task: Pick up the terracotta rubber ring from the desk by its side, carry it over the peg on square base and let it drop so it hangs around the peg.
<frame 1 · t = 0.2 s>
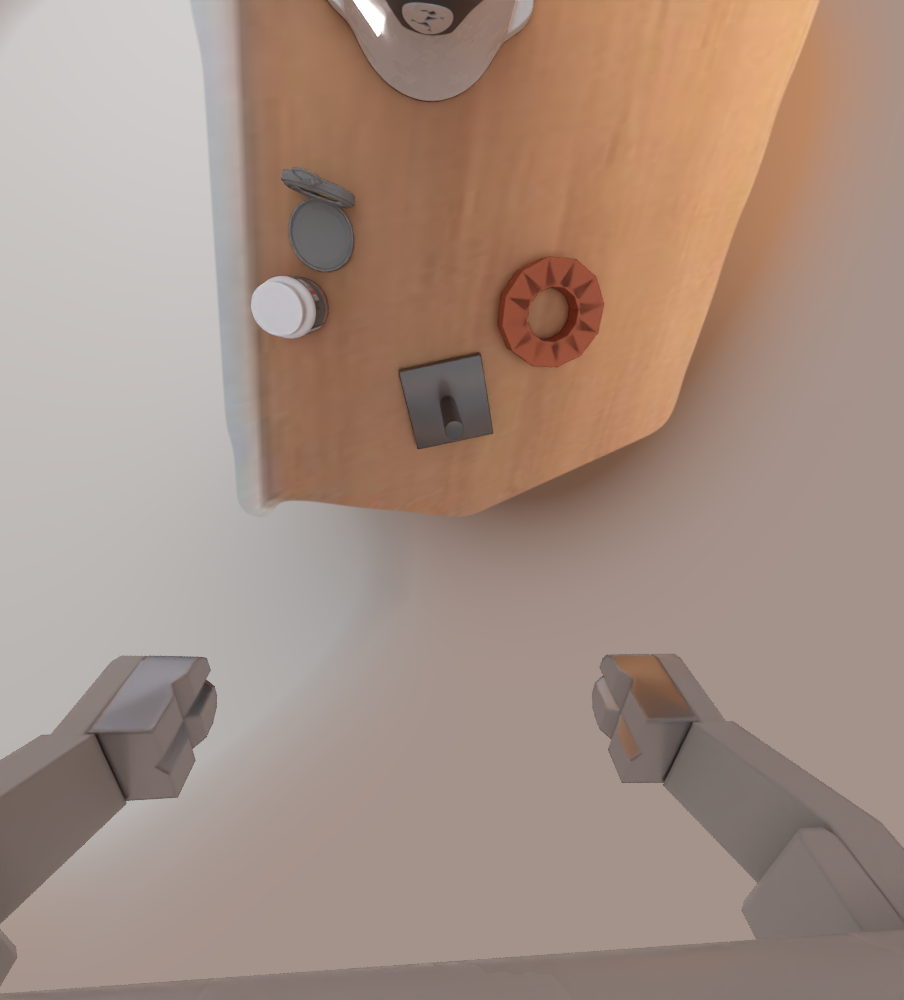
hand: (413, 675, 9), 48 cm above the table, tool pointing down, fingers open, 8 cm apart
pill bottle: (304, 305, 48), on the table
pocket watch: (326, 225, 45), on the table
ring: (545, 313, 50), on the table
peg on square base: (447, 401, 54), on the table
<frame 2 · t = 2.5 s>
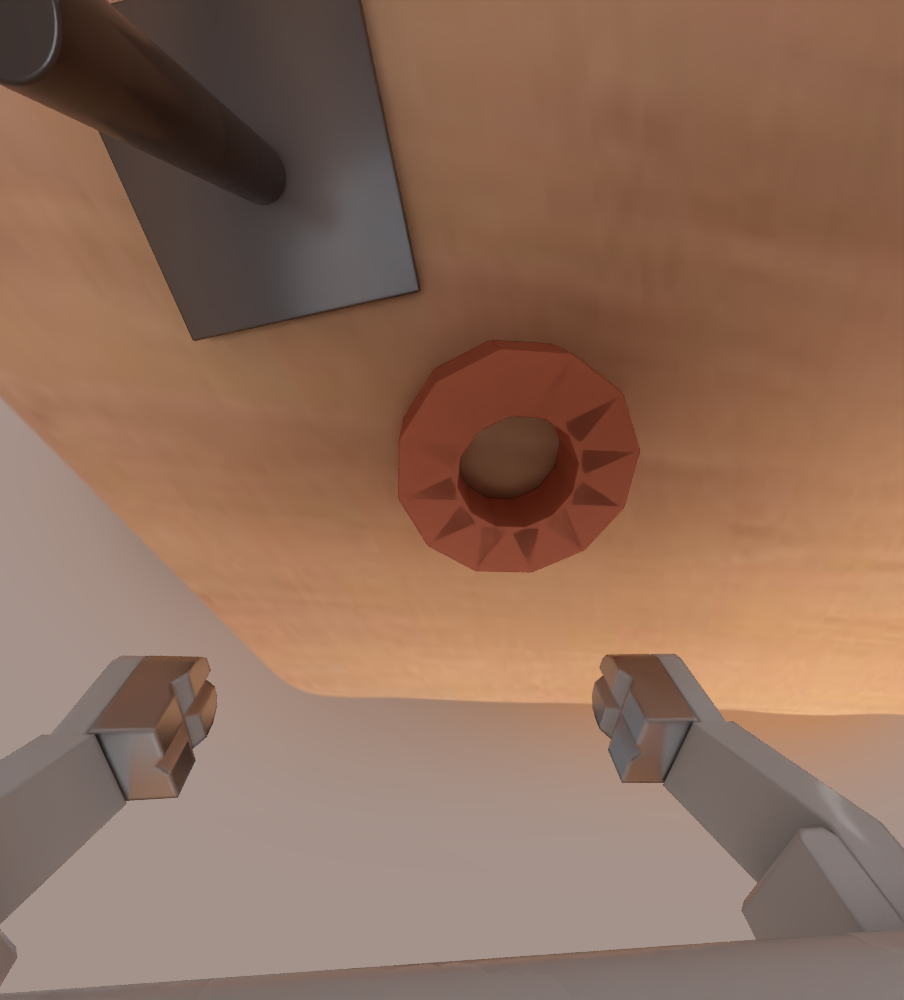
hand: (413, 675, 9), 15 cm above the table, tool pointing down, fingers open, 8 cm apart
ring: (506, 451, 23), on the table
peg on square base: (271, 181, 17), on the table
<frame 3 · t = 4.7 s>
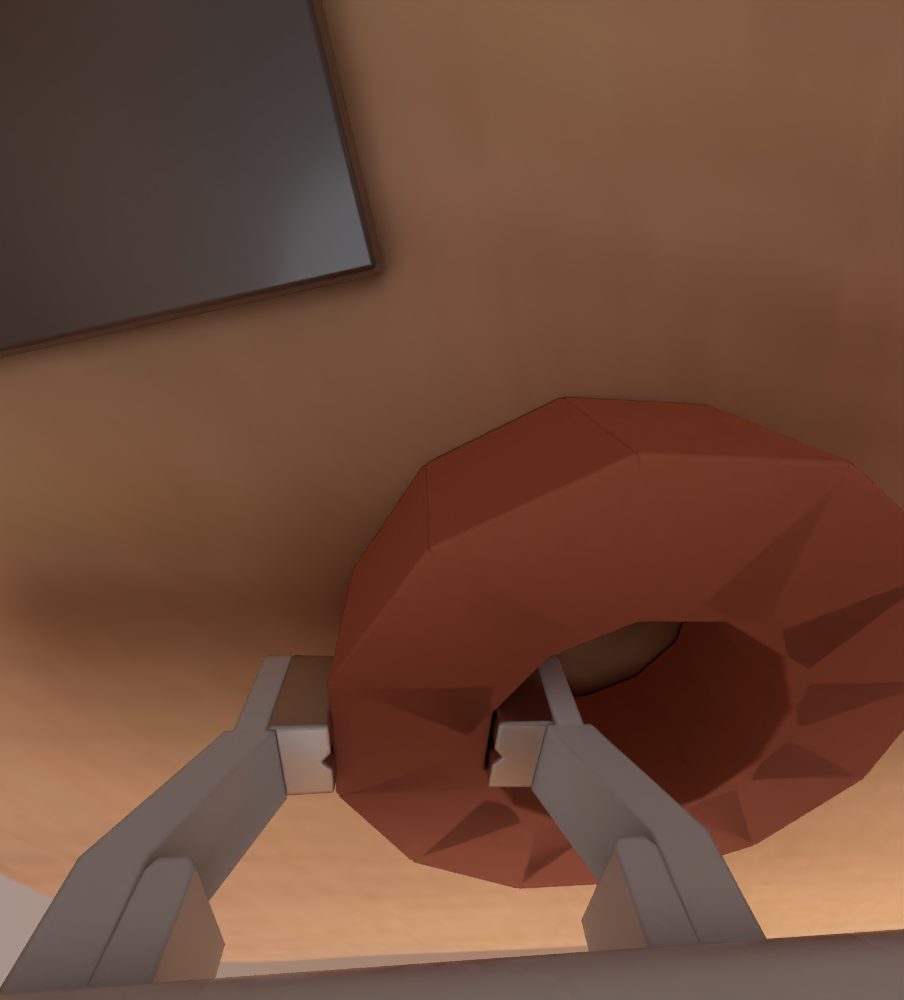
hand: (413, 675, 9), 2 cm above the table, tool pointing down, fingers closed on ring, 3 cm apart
ring: (578, 619, 11), on the table, touching gripper
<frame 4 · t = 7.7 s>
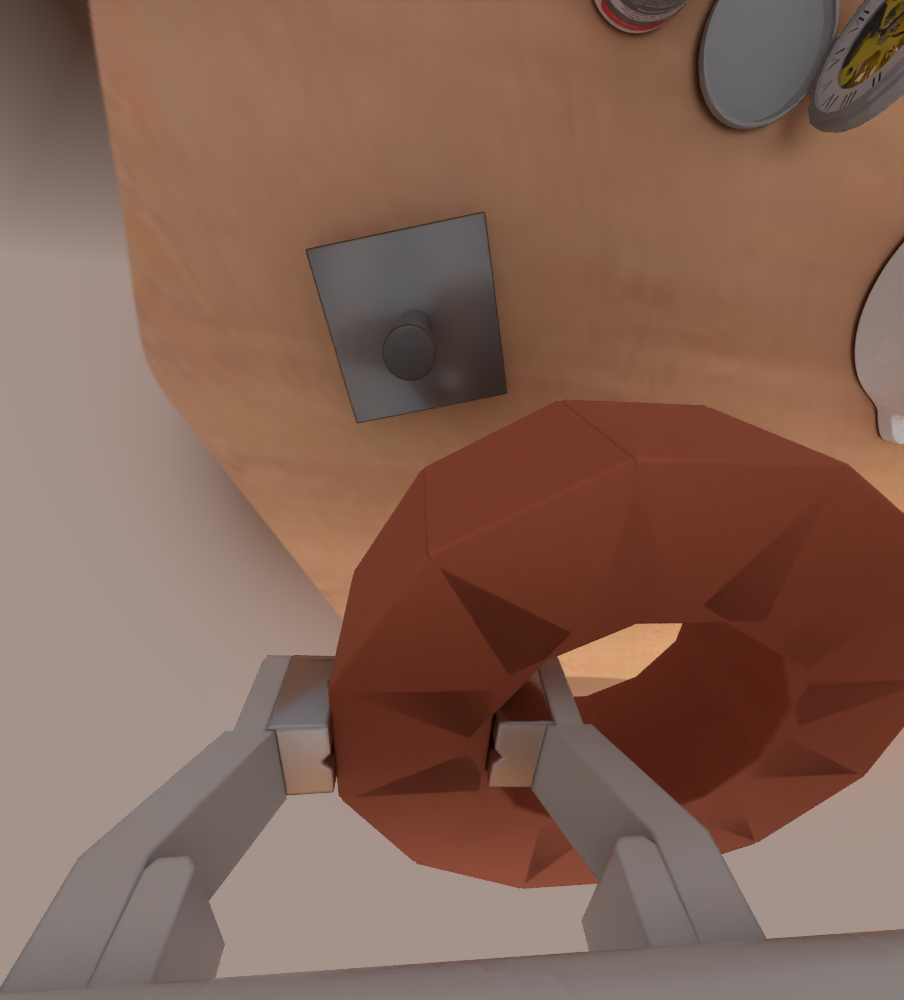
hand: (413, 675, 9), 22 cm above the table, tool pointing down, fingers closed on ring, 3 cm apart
pocket watch: (770, 65, 22), on the table
ring: (579, 620, 11), point 21 cm above the table, touching gripper
peg on square base: (415, 325, 27), on the table
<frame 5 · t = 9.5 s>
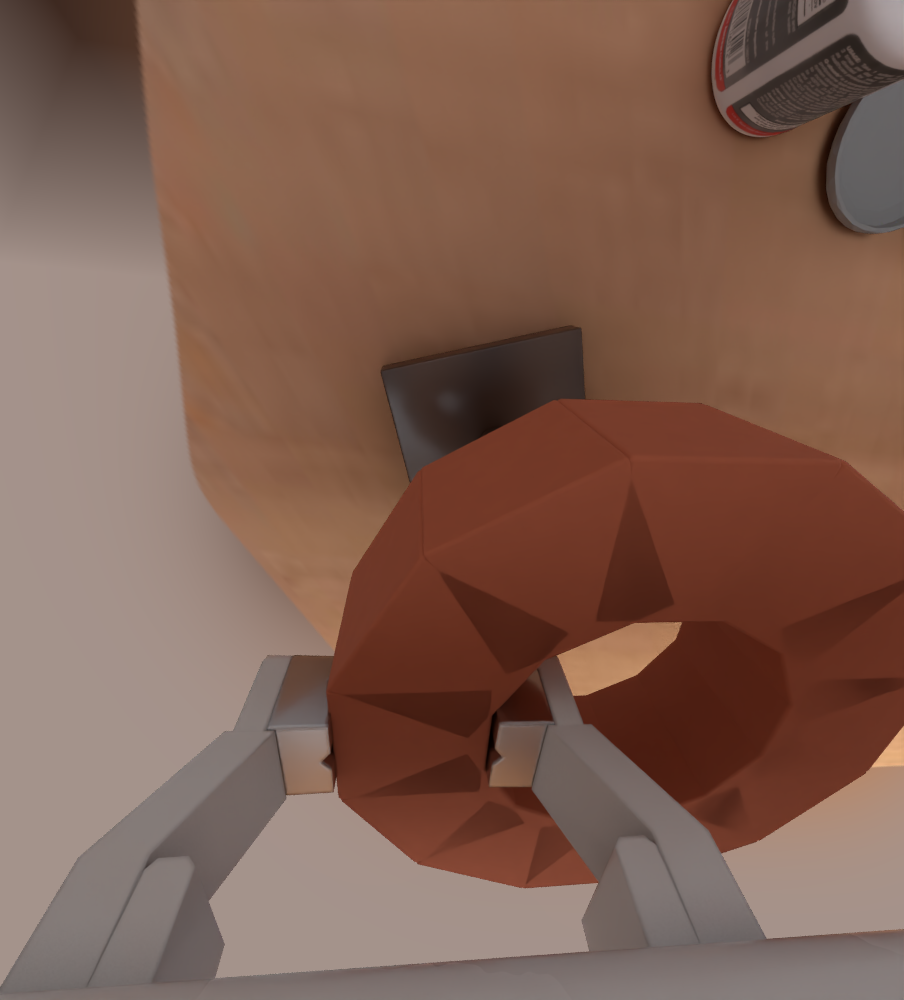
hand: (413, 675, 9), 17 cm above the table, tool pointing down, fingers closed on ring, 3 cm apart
pill bottle: (769, 55, 18), on the table
pocket watch: (902, 164, 20), on the table
ring: (578, 619, 11), point 15 cm above the table, touching gripper
peg on square base: (491, 436, 24), on the table
when the fingers open (13 cm above the table, at t = 11.0 s): ring drops 9 cm, resting on peg on square base.
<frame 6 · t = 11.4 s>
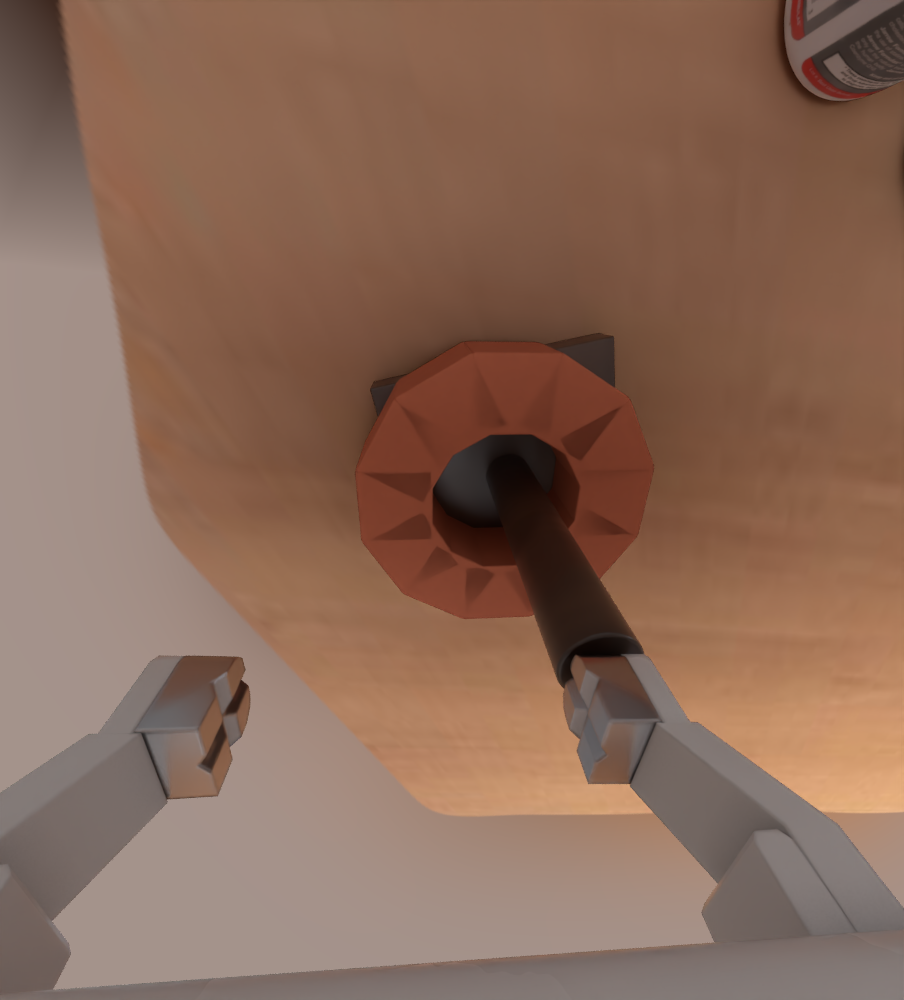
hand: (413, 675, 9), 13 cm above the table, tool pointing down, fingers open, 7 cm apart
ring: (492, 473, 19), point 1 cm above the table, touching peg on square base
peg on square base: (502, 462, 21), on the table
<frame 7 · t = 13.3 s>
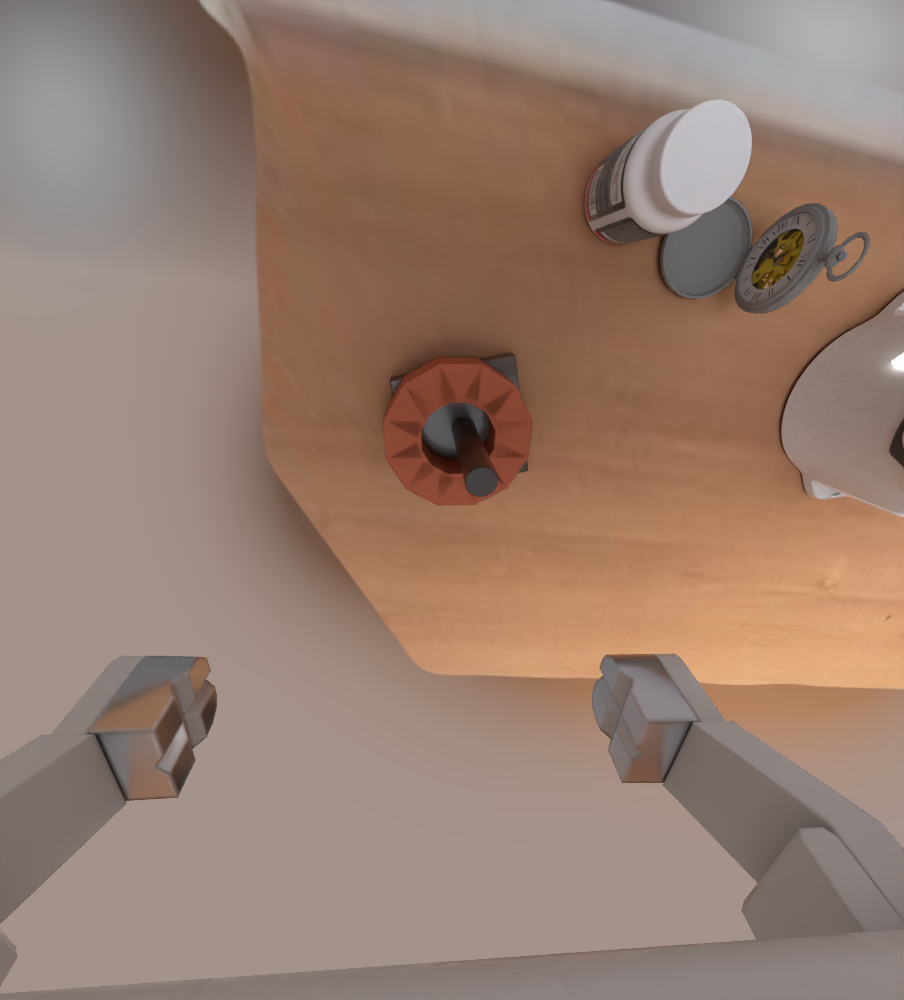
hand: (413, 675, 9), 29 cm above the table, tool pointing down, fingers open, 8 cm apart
pill bottle: (620, 199, 30), on the table
pocket watch: (709, 257, 33), on the table
ring: (454, 427, 35), point 1 cm above the table, touching peg on square base
peg on square base: (461, 423, 37), on the table
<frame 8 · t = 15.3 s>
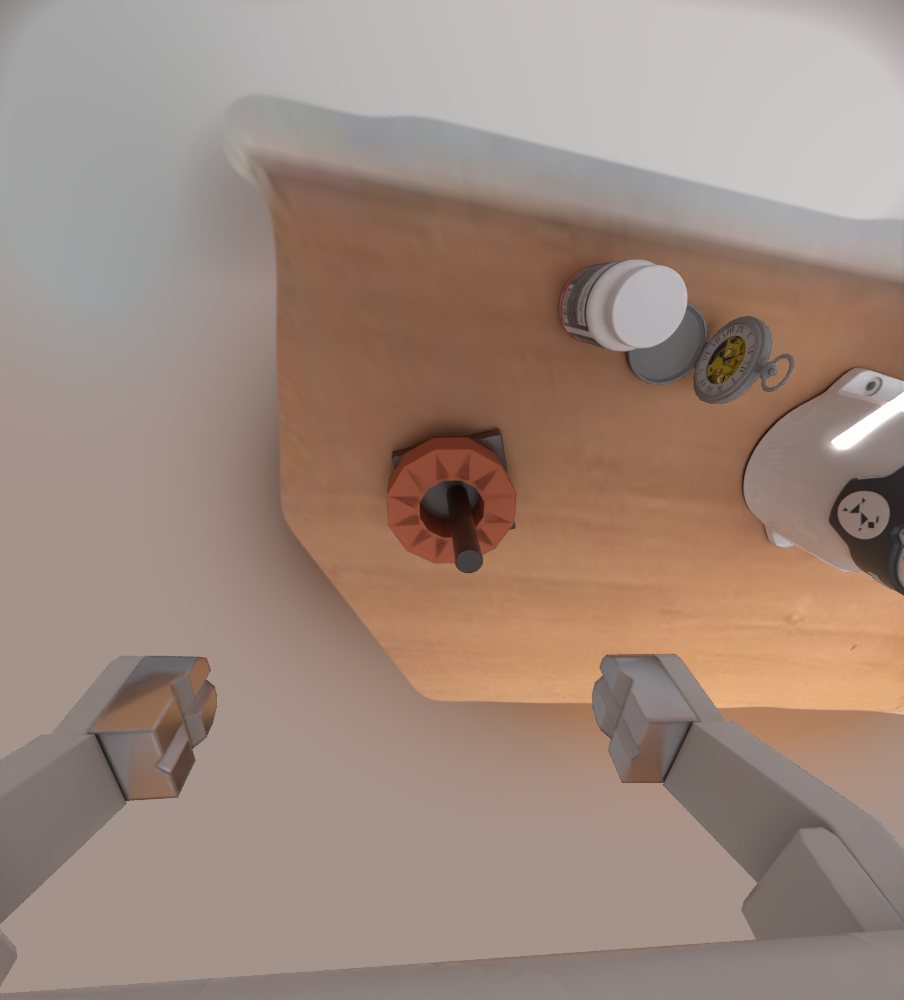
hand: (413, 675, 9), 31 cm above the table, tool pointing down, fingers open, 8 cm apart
pill bottle: (590, 304, 35), on the table
pocket watch: (671, 348, 37), on the table
ring: (449, 494, 40), point 1 cm above the table, touching peg on square base
peg on square base: (455, 488, 41), on the table
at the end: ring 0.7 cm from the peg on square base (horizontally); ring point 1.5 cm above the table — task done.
